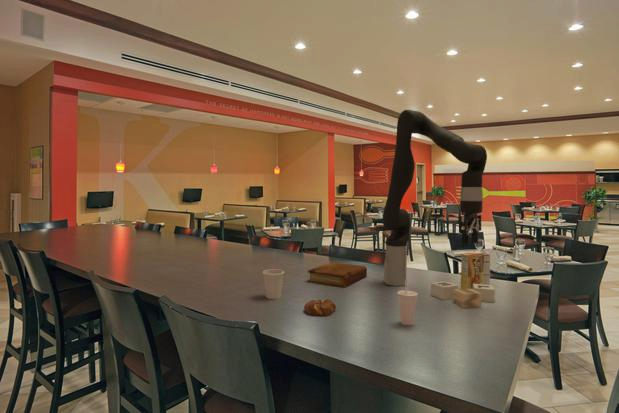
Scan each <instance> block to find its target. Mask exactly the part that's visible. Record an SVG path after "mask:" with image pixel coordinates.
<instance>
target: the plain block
mask: <svg viewBox="0 0 619 413" xmlns="http://www.w3.org/2000/svg"><path fill="white" fill-rule="evenodd" d="M482 302H483V301H482V294H481V293H479V292H477V291H475V290H473V289H460V288H458V289H454V292H453V303H454V304H456V305H457V306H460V307H461V308H463V309H464V308H467V309H469V308H482Z"/></svg>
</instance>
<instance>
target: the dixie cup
mask: <svg viewBox="0 0 619 413" xmlns="http://www.w3.org/2000/svg"><path fill="white" fill-rule="evenodd" d="M262 274H263V275H262V276H263V282H264V289H265V297H266V299H268V300H278V299H281V297H282V292H283V291H282V289H283V282H284V275H285V271H284V270H282V269H279V268H278V269H276V268H275V269H274V268H271V269H265V270H263V271H262Z"/></svg>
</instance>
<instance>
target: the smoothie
mask: <svg viewBox="0 0 619 413" xmlns="http://www.w3.org/2000/svg"><path fill="white" fill-rule="evenodd" d="M397 297H398V306H399V307H398V308H399V315H400V324H401V325H404V324H405V325H404V326H413V325H414V320H415V312H416V306H417V299H418V298H419V293H418V292H417V291H414V290H413V291H412V290H409V289H408V279H407V278H406V279H405V285H404V290H403V289H402V290H398V291H397Z"/></svg>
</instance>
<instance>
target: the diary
mask: <svg viewBox="0 0 619 413" xmlns="http://www.w3.org/2000/svg"><path fill="white" fill-rule="evenodd" d="M367 268H368V267H366V265H358V264H353V263H352V264H351V263H343V262H335V261H331V262H328V263H325V264H323V265H320V266H317V267H314V268H312V269H308V270H307V272H308V274H309V280H307V282H308V283H313V284H320V285H325V286H332V287H340V288H343V289H345V288H347V287H349V286H351V285H354V284H355V283H357V282H358V281H361V280H363V279H364V278H367V276H368V271H367V270H368V269H367Z"/></svg>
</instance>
